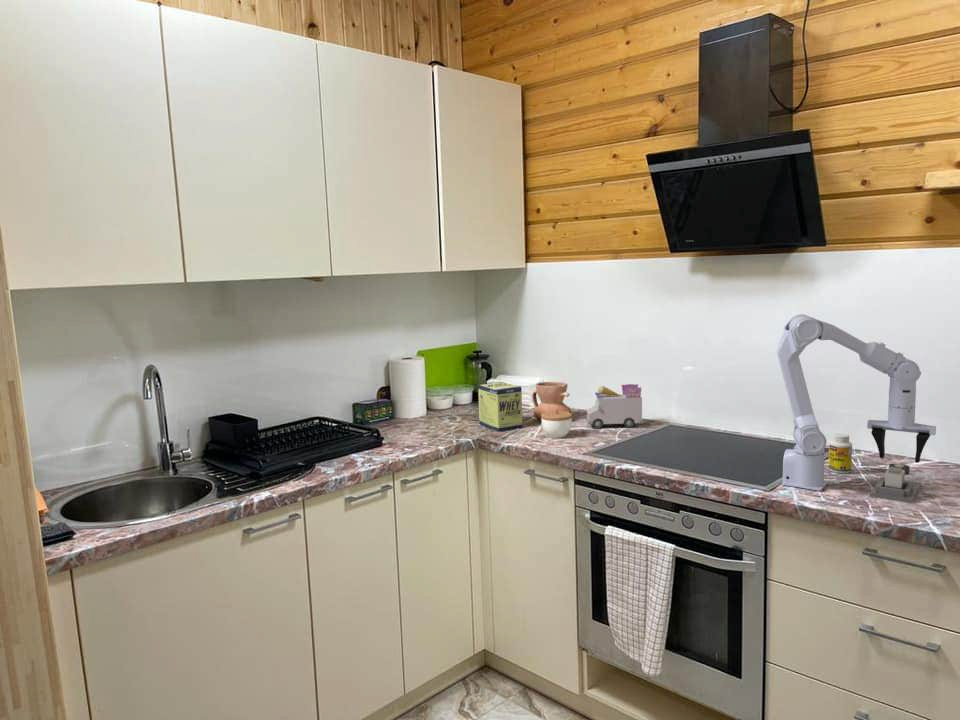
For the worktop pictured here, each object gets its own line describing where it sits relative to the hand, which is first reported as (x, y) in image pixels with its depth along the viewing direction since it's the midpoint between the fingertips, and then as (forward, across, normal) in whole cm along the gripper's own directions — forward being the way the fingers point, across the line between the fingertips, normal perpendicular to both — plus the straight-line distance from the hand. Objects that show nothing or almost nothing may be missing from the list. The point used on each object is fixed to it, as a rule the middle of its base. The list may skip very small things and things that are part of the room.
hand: (899, 459), depth 174 cm
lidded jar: (+8, -103, +1) cm, 103 cm away
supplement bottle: (+8, -15, +8) cm, 19 cm away
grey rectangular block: (+7, 0, -6) cm, 9 cm away
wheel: (+4, 0, +1) cm, 4 cm away
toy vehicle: (+8, -93, +24) cm, 97 cm away
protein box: (+8, -129, +3) cm, 129 cm away
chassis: (+8, 0, -3) cm, 8 cm away
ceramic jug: (+8, -119, +22) cm, 122 cm away
